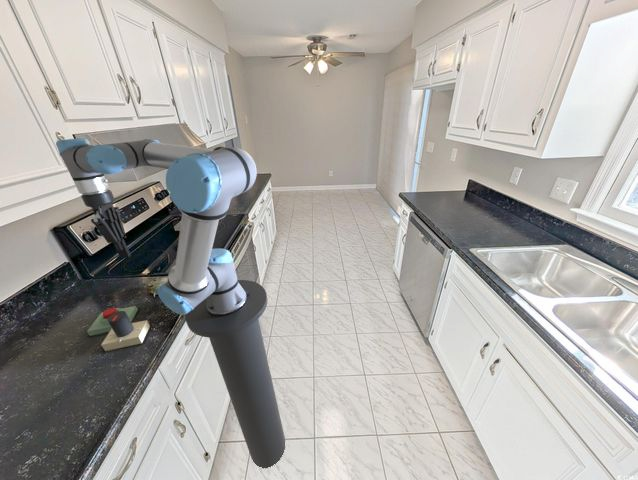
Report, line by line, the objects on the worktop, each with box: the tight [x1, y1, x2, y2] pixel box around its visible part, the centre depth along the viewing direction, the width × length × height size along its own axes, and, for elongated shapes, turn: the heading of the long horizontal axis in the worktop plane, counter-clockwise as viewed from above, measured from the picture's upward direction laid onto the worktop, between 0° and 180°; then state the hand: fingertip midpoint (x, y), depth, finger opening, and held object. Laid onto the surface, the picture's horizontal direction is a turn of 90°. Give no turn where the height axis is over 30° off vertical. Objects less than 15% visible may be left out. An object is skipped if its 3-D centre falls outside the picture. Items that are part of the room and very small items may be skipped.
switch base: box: [86, 305, 139, 337], centre depth 94 cm, size 12×10×4 cm
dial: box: [108, 311, 134, 337], centre depth 85 cm, size 5×5×7 cm
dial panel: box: [100, 319, 151, 352], centre depth 87 cm, size 11×9×3 cm
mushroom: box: [145, 276, 168, 298], centre depth 111 cm, size 14×10×5 cm, turn 98°
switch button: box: [102, 307, 117, 319], centre depth 93 cm, size 4×4×2 cm
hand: (125, 256), depth 89 cm, fingers closed
